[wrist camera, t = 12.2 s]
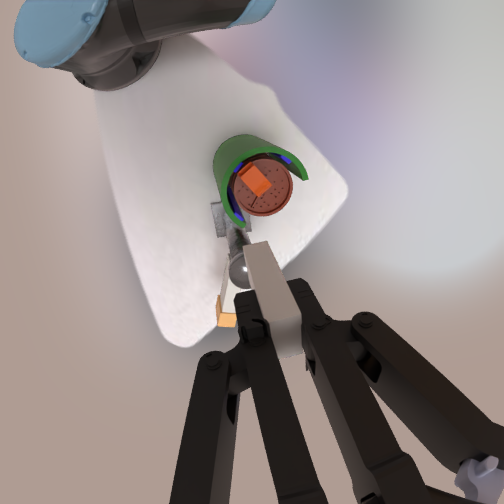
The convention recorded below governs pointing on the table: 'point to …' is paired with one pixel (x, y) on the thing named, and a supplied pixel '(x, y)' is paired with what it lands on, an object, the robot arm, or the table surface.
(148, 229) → the table surface
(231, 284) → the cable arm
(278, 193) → the motor
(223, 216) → the post
